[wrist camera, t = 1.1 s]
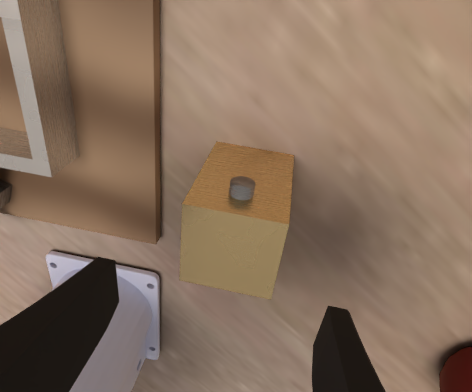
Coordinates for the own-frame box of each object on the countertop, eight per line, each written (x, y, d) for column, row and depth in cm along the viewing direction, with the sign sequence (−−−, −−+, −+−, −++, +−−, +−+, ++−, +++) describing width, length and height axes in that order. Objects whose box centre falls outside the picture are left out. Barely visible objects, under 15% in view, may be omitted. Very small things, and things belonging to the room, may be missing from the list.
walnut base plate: (160, 236, 22) (155, 244, 21) (-72, 189, 23) (-83, 195, 23) (159, -161, 12) (150, -169, 12) (-237, -202, 14) (-265, -212, 13)
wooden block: (278, 225, 20) (268, 307, 15) (210, 212, 20) (179, 288, 15) (295, 146, 17) (291, 213, 12) (217, 132, 18) (182, 192, 13)
